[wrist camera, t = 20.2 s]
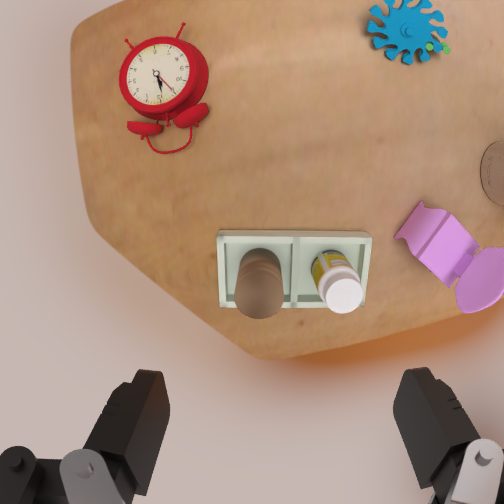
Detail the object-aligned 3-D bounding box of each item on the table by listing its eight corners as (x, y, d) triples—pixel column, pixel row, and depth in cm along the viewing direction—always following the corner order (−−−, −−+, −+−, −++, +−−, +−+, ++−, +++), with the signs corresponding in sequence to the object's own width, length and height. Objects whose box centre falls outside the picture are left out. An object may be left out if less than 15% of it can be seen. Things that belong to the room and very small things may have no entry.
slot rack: (365, 231, 38) (372, 237, 36) (357, 296, 41) (363, 306, 39) (219, 230, 39) (216, 236, 36) (222, 297, 42) (219, 307, 39)
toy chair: (422, 191, 37) (492, 219, 22) (460, 231, 38) (528, 270, 24) (385, 242, 39) (440, 291, 25) (426, 277, 40) (482, 332, 26)
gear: (353, 42, 30) (393, -22, 21) (348, 24, 32) (382, -32, 23) (427, 82, 32) (470, 31, 23) (417, 61, 34) (453, 13, 26)
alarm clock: (195, 14, 28) (208, 132, 29) (206, 40, 34) (219, 146, 35) (110, 39, 29) (112, 155, 30) (130, 60, 35) (136, 163, 36)
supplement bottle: (322, 291, 40) (335, 325, 32) (302, 263, 39) (312, 293, 31) (354, 270, 39) (374, 300, 31) (335, 241, 38) (353, 266, 30)
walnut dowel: (280, 247, 39) (284, 274, 31) (280, 285, 40) (283, 318, 33) (239, 247, 39) (233, 274, 31) (240, 285, 40) (234, 318, 33)
